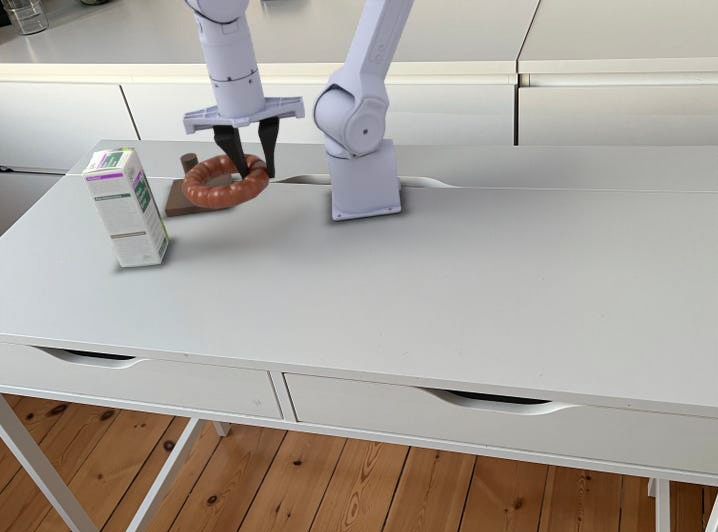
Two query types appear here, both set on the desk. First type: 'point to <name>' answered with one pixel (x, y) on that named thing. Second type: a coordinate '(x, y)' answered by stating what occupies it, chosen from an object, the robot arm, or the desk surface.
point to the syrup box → (126, 206)
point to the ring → (224, 194)
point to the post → (177, 200)
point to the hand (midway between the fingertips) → (259, 176)
